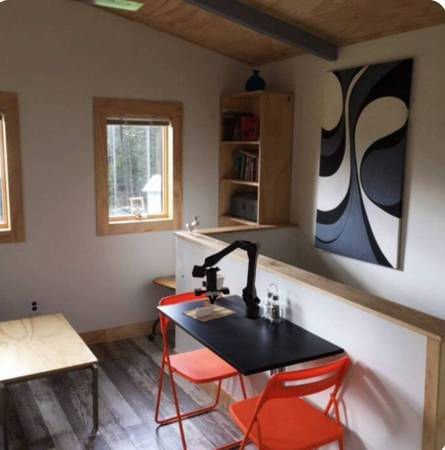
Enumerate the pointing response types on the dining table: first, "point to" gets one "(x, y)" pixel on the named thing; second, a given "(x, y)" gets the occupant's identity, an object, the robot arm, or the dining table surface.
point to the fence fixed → (205, 311)
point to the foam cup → (219, 283)
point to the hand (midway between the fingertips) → (211, 307)
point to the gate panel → (206, 303)
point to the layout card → (217, 314)
